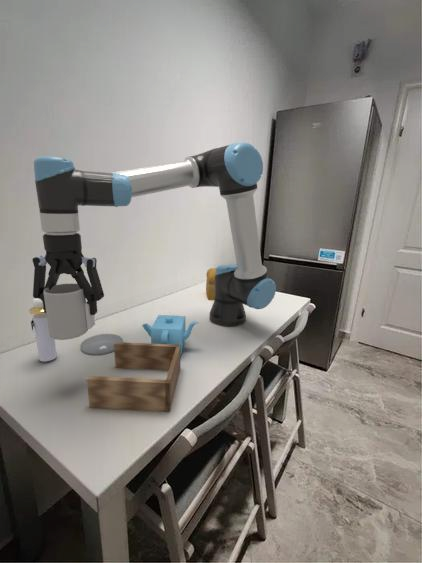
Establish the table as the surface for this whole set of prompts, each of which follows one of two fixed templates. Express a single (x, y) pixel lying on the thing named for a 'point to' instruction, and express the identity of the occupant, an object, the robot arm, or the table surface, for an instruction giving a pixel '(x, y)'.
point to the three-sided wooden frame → (138, 379)
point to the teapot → (169, 330)
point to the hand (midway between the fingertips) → (72, 325)
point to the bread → (210, 283)
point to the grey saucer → (100, 344)
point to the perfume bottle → (42, 332)
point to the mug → (65, 311)
